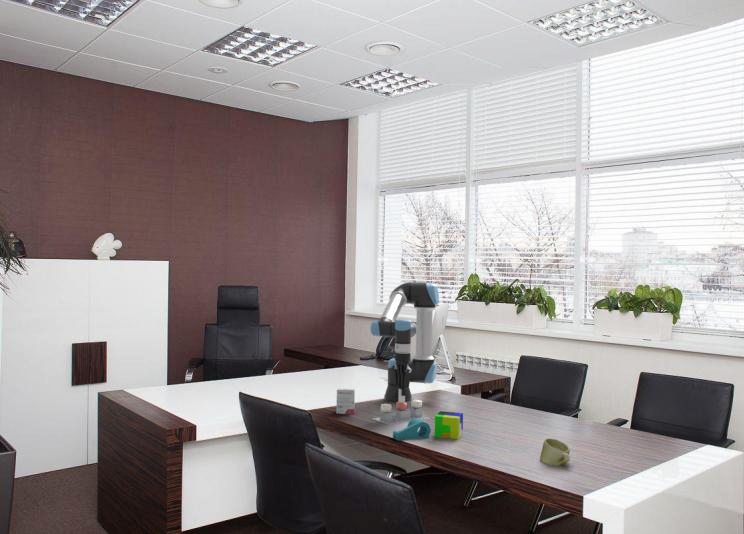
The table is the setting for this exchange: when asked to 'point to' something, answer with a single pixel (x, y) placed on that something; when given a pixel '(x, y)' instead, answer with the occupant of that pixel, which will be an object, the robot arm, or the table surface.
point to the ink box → (345, 401)
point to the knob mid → (401, 406)
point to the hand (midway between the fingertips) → (401, 402)
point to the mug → (554, 452)
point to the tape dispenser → (413, 430)
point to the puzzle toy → (449, 425)
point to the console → (400, 416)
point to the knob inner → (416, 403)
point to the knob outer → (386, 408)
